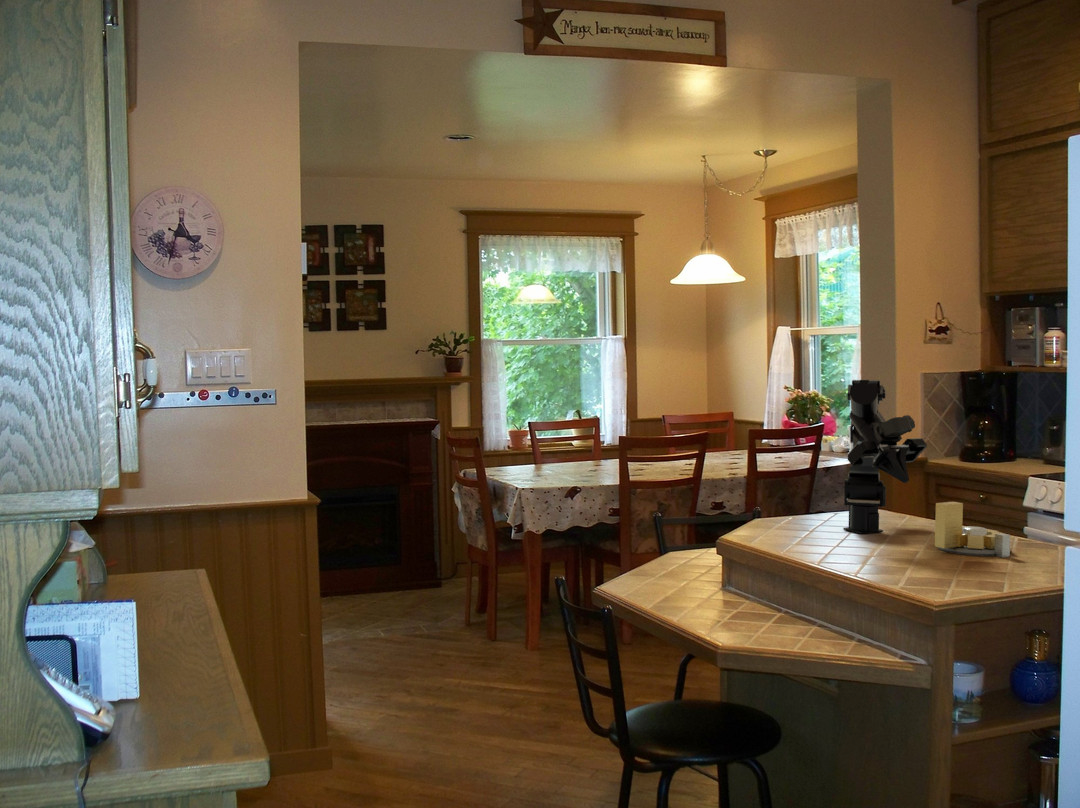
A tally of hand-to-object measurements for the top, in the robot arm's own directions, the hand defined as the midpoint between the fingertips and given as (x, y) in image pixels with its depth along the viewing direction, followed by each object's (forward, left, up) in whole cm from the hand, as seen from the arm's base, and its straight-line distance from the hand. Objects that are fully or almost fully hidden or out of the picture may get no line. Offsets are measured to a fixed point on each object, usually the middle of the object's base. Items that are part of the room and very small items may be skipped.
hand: (906, 481), depth 223 cm
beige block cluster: (+11, +5, -12) cm, 18 cm away
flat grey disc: (+11, +8, -13) cm, 19 cm away
